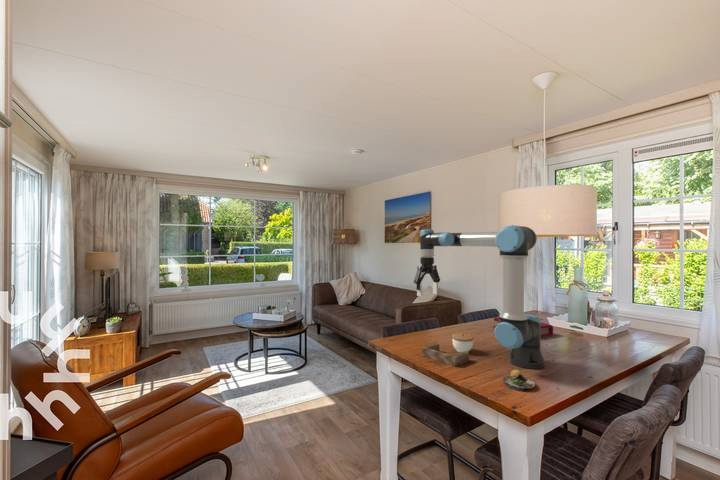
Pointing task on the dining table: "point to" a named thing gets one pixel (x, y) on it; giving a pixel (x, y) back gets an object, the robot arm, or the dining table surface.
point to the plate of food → (517, 381)
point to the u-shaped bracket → (444, 355)
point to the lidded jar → (462, 342)
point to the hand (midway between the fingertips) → (427, 294)
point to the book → (545, 328)
